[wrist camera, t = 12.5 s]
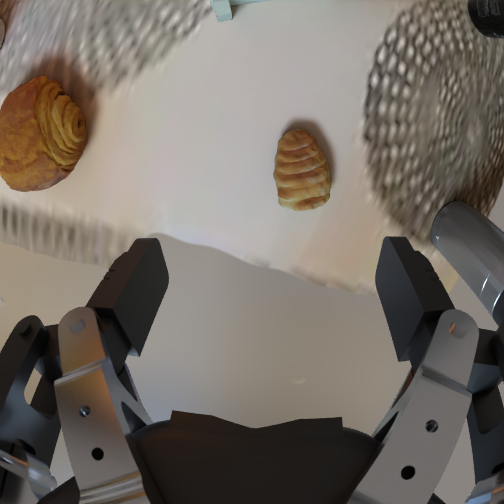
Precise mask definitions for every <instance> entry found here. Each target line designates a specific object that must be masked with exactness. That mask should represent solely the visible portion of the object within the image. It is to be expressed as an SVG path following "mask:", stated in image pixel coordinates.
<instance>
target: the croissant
mask: <svg viewBox="0 0 504 504" xmlns="http://www.w3.org/2000/svg"><path fill="white" fill-rule="evenodd" d="M56 81H57V80H55V81H53V80H48V77H47V76H39V77H36V78H34V79H32V80H31V81H29V82H27V83H25V84H23V85H20V86H19V87H17V88H16V89H15V90H14V91H13V92H10V93H9V94H8V96H7V97H6V99H5V100H4V102H3V104H2V106H1V109H0V175H1V177H2V178H3V179H4V181H6V184H7V185H9V187H10V188H11V189H13V190H17V191H21V192H28V191H38V190H43V189H47V188H49V187H52V186H53V185H55V184H57V183H58V182H59V181H61V180H63V179H65V178H66V177H67V176H68V175H69V174H70V173H71V172H72V171H73V170H74V167H75V165H76V164H77V162H78V161H79V159H80V158H81V156H82V154H83V151H84V149H85V146H86V138H87V131H86V123H85V118H84V116H83V114H82V111H81V110H80V109H79V107H78V106H77V102H76V103H74V101H72V100H71V99H70V97H69V96H66V95H65V92H64V90H63V88H62V86H61V85H60V84H58V82H56Z"/></svg>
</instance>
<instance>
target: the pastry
mask: <svg viewBox="0 0 504 504" xmlns="http://www.w3.org/2000/svg"><path fill="white" fill-rule="evenodd" d="M273 177H274V179H275V181H276V186H277V190H278V197H279V204H280V205H281V206H282V207H284V208H287V209H293V210H295V211H304V210H312V209H315V208H317V207H319V206H322V205H324V204H325V203H326V202H327V201H328V200H329V198H330V188H331V175H330V171H329V164H328V162H327V159H326V157H325V156H324V154H323V151H322V150H321V148H320V147H319V145H318V144H317V142H316V139H315V137H314V136H312V135H311V134H309V133H307V132H306V131H305V130H303V129H294V130H291V131H289V132H287V133H286V134H285V135H284V136H283V137H282V138H281V139H280V140H279V141H278V148H277V154H276V156H275V170H274V173H273Z"/></svg>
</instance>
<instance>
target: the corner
mask: <svg viewBox="0 0 504 504" xmlns="http://www.w3.org/2000/svg"><path fill="white" fill-rule="evenodd" d="M260 1H269V0H210V3H211V6H212V9H215V13H216V17H217V20H218V22H221V21H226V20H231V19H232V12H231V8H230V6H234V5H239V4H246V3H253V2H260Z"/></svg>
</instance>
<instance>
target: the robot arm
mask: <svg viewBox="0 0 504 504" xmlns="http://www.w3.org/2000/svg"><path fill="white" fill-rule="evenodd" d="M431 241H432V243H433V245H434V246H435V247H436V248H437V250H438V251H439V252H440V253H441V254H442V255H443V256H444V257H445V259H446V260H447V261H448V262H449V263H450V264H451V266H452V267H453V268H454V269H455V270H456V271H457V273H458V274H459V275H460V276H461V277H462V279H463V280H464V281H465V282H466V283H467V285H468V286H469V287H470V289H471V290H472V291H473V292H474V294H475V295H476V296H477V297H478V299H479V300H480V301H481V303H482V304H483V305H484V307H485V308H486V309H487V311H488V312H489V314H490V315H491V316H492V318H493V319H494V320H495V322H496V323H497V325H498V326H499V328H498V329H497V331H491V330H486V329H480V328H478V326H477V324H476V322H475V320H474V319H473V318H472V317H471V316H469V315H468V314H467V313H465V312H463V311H461V310H457V309H455V307H454V305H453V303H452V301H451V300H450V297H449V296H448V294H447V292H446V290H445V288H444V286H443V284H442V282H441V281H440V280H439V277H438V275H437V273H436V272H434V268H433V267H432V265H431V263H430V261H429V260H428V259H427V258H426V257H425V256H424V255H423V254H421V253H420V252H419V251H414V249H413V247H412V246H411V244H410V242H409V241H408V239H407V238H406V237H389V236H387V237H385V238H384V240H383V243H382V248H381V252H380V257H379V261H378V265H377V269H376V276H375V282H376V288H377V291H378V294H379V297H380V300H381V304H382V307H383V310H384V313H385V316H386V319H387V323H388V326H389V329H390V333H391V336H392V340H393V343H394V347H395V350H396V354H397V358H398V361H399V362H400V361H408V360H410V362H411V365H412V367H411V368H410V370H409V372H408V374H407V376H406V378H405V380H404V382H403V384H402V386H401V388H400V390H399V392H398V393H397V395H396V398H395V399H394V401H393V403H392V405H391V406H390V408H389V410H388V412H387V413H386V415H385V416H384V418H383V419H382V421H381V422H380V424H379V425H378V426H377V428H376V429H375V431H374V432H373V434H372V435H371V436H369V435H367V434H365V433H363V432H360V431H358V430H355V429H350V428H347V427H343V425H342V417H336V418H319V419H298V420H294V421H290V422H286V423H282V424H277V425H272V426H268V427H262V428H249V427H246V426H243V425H239V424H235V423H233V422H229V421H227V420H223V419H221V418H218V417H215V416H212V415H203V414H195V413H188V412H181V411H174V410H173V411H172V415H171V418H170V420H166V421H160V422H156V423H153V421H152V420H151V418H150V416H149V415H148V413H147V412H146V410H145V408H144V406H143V404H142V402H141V399H140V397H139V394H138V392H137V389H136V387H135V384H134V382H133V379H132V377H131V374H130V371H129V368H128V366H127V364H126V362H125V360H126V358H127V355H131V356H138V357H140V355H141V352H142V349H143V347H144V344H145V341H146V339H147V336H148V334H149V331H150V329H151V326H152V324H153V321H154V319H155V316H156V314H157V311H158V308H159V306H160V304H161V302H162V299H163V297H164V295H165V292H166V290H167V287H168V283H169V274H168V270H167V267H166V263H165V259H164V256H163V253H162V249H161V246H160V242H159V240H158V239H157V238H138V239H136V240H135V241H134V243H133V244H132V246H131V247H130V249H129V250H128V252H125V253H123V254H122V255H121V256H120V257H118V258H117V259H116V260H115V261H114V263H113V264H112V265H111V267H110V268H109V272H107V273H106V275H105V276H104V279H103V280H102V281H101V282H100V284H99V285H98V287H97V289H96V290H95V292H94V293H93V295H92V297H91V298H90V300H89V301H88V303H87V305H86V306H85V307H78V308H75V309H73V310H71V311H69V312H68V313H67V314H66V315H65V316H64V317H63V318H62V319H61V321H60V323H59V324H56V325H49V326H44V325H43V323H42V322H41V320H40V319H39V318H38V317H37V316H34V315H31V316H27V317H25V318H23V319H22V320H21V321H19V322H18V323H17V325H16V326H15V328H14V329H13V331H12V333H11V334H10V336H9V338H8V339H7V341H6V343H5V345H4V347H3V349H2V350H1V353H0V504H445V503H444V502H443V501H442V500H441V499H440V498H439V497H438V496H436V495H435V494H434V493H433V492H434V490H435V488H436V486H437V484H438V482H439V480H440V479H441V477H442V475H443V472H444V470H445V468H446V466H447V464H448V462H449V459H450V457H451V455H452V452H453V450H454V448H455V446H456V443H457V441H458V438H459V435H460V432H461V430H462V427H463V424H464V422H465V419H466V417H467V422H468V427H469V433H470V439H471V446H472V453H473V461H474V471H475V484H476V486H475V487H474V489H473V491H472V492H471V495H470V496H469V497H468V498H467V499H466V501H465V504H504V407H503V403H502V399H501V396H500V392H499V389H498V385H499V384H500V383H501V382H502V381H503V382H504V232H503V231H502V230H501V229H500V228H498V227H497V226H496V225H495V224H494V223H492V222H491V221H490V220H489V219H488V218H486V217H485V216H484V215H483V214H482V213H480V212H479V211H478V210H477V209H475V208H474V207H473V206H468V205H467V204H466V203H464V202H462V201H453V202H451V203H449V204H448V205H446V206H445V207H444V208H443V209H442V210H441V211H440V212H439V213H438V215H437V217H436V218H435V220H434V223H433V225H432V229H431ZM34 368H35V369H36V370H37V371H38V372H39V373H40V374H41V375H42V377H41V379H40V382H39V384H38V386H37V389H36V391H35V394H34V396H33V399H32V401H31V404H30V405H28V404H27V402H26V401H25V398H24V389H25V387H26V385H27V382H28V380H29V378H30V375H31V373H32V371H33V369H34ZM61 427H62V432H63V436H64V440H65V444H66V448H67V452H68V455H69V459H70V462H71V466H72V469H73V472H74V475H75V476H74V477H72V478H71V479H69V480H68V481H66V482H65V483H63V484H62V485H60V486H59V487H57V481H56V479H55V477H54V476H52V475H51V473H50V470H49V469H50V465H51V461H52V458H53V454H54V450H55V446H56V443H57V439H58V436H59V433H60V430H61ZM56 487H57V488H56ZM51 490H52V491H51Z"/></svg>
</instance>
